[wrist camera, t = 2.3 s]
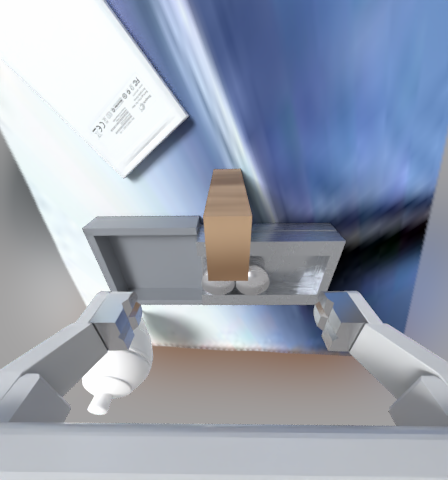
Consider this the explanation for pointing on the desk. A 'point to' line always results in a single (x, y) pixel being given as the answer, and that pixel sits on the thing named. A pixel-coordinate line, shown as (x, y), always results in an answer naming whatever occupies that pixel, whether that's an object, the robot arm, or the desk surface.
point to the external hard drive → (90, 76)
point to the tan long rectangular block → (227, 227)
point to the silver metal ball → (255, 277)
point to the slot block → (286, 263)
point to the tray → (149, 257)
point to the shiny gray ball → (215, 284)
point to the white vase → (119, 371)
